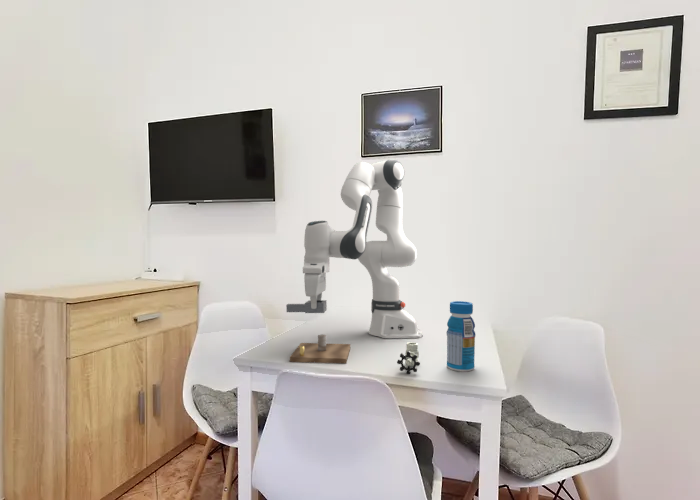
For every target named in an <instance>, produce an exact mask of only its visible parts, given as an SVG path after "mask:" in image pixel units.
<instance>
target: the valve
mask: <svg viewBox="0 0 700 500" xmlns="http://www.w3.org/2000/svg"><path fill="white" fill-rule="evenodd" d="M419 355H420V353H419V343H418V342H411V341H410V342H406V349H405V355H404V353H403V352H401V353H400V354H399V358H401V359H397V361H396V363H397V365H400V367H399V371H401V372H403V371H404V370H405V372H406V375H410V374H411V371H413V373H418V368H416V366H417V367H419V366H420V365H421V361H419V360H418V359H419ZM404 360H405V363H404ZM404 364H405V365H406V366H407V367H406V366H405V365H404Z"/></svg>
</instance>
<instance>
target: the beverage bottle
mask: <svg viewBox="0 0 700 500" xmlns="http://www.w3.org/2000/svg"><path fill="white" fill-rule="evenodd" d="M473 305H474V304H473V303H472V302H470V301H462V300H461V301H460V300H459V301H458V300H455V301H454V300H453V301H450V302H449V313H450V314H451V315H450V316H449V318H448V320H447V324H446V325H447V330H446V367H447V368H448V369H449V370H452V371H454V372H461V373H462V372H463V373H464V372H472V371H473V370H475V354H476V353H475V351H476V350H475V347H476V345H475V344H476V331H475V327H476V324H475V321H474V319H473V318H472V316H471V315H473V310H474V306H473Z"/></svg>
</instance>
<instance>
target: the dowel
mask: <svg viewBox="0 0 700 500" xmlns="http://www.w3.org/2000/svg"><path fill="white" fill-rule="evenodd" d="M300 356H304V346H300Z"/></svg>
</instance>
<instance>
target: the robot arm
mask: <svg viewBox="0 0 700 500" xmlns="http://www.w3.org/2000/svg"><path fill="white" fill-rule="evenodd" d="M404 177H405V168H404V166H403V165H402V163H401V162H400V161H399V160H398V159H387V160H382V161H376V162H374V163H371V164H370V163H368V162H366V161H360V162H356V164H354V165H353V167H352V168H351V169H350V171H349V173H348V174H347V176H346V178H345V180H344V182H343V184H342V185H341V186H342V187H341V189H340V199H341V201H342V202H343V204H344V205H345V206H346V207H347V208H349V209H351V210H353V211H355V215H354V219H353V223H352V227H351V228H350V229H348V230H335V229H334V228H332V227H331V226H330V225H329V222H328V221H327V220H318V221H317V220H315V221H310V222H308V223H306V227H305V230H304V237H303V238H304V241H303V243H304V244H303V247H304V250H305V251H304V257H303V258H304V259H303V267H302V274H304V278H303V279H304V282H303V283H304V293H305V296H306V297H309V300H310V301H311V308H312V309H316V308H317V300H322V298H323V292H326V288H327V279H326V278H327V276H326V273H329V272H330V258H334V259H335V258H337V259H348V260H358V262H359V263H360V264H361V265H362V266H363V267H364V268H365V269H366V270H367V272H368V274H369V275H370V280H371V284H372V285H371V287H372V299H371V306H370V308H371V318H370V319H371V321H370V325H369V326H370V327H369V329H368V334H369V335H371V336H375V337H379V338H382V339H419V338H422V337H423V335H424V333H423V331H422V330H421V329H419V328H418V323H417V320H416V318H414V316H413V315H411V314H410V313H409V312H408V311H407V310H405V307H406V303H405V302H404V301H403V300H401V299H400V282H399V281H398V279H397V278H396V277H394V276H393V275H391V274H390V273H389V271H388V269H387V268H404V267H405V268H406V267H410V266H412V265H413V264H415V261H416V260H417V256H418V253H417V248H416V246H415V245H414V244H413V242H412V241H410V240H409V239H408V238H407V237H406V235H405V233H404V227H403V209H404V208H403V207H404V201H403V191H402V188H401V186H402V184H403V181H404ZM372 191H377V192H378V193H377V195H378V197H377V201H376V210H375V211H376V213H375V226H376V228H377V230H379V231H380V232H381V233H384V234H385V235H386V240H369V241H367V236H368V230H369V225H370V222H371V221H370V220H371V216H372V210H373V200H372V198H371V197H370V195H371V192H372Z"/></svg>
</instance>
